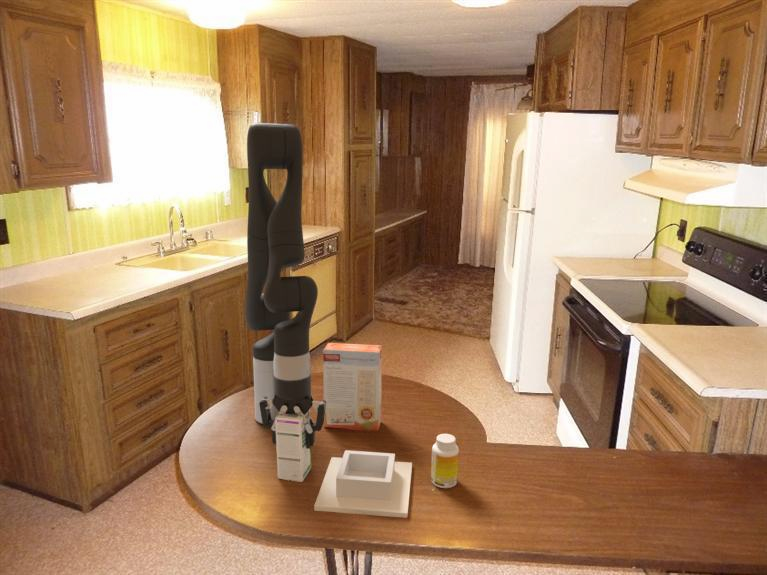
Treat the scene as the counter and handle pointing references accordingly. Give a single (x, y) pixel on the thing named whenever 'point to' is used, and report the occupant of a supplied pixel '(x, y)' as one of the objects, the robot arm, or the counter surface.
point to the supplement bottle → (444, 461)
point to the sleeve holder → (366, 485)
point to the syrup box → (292, 448)
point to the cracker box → (352, 386)
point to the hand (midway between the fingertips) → (293, 445)
